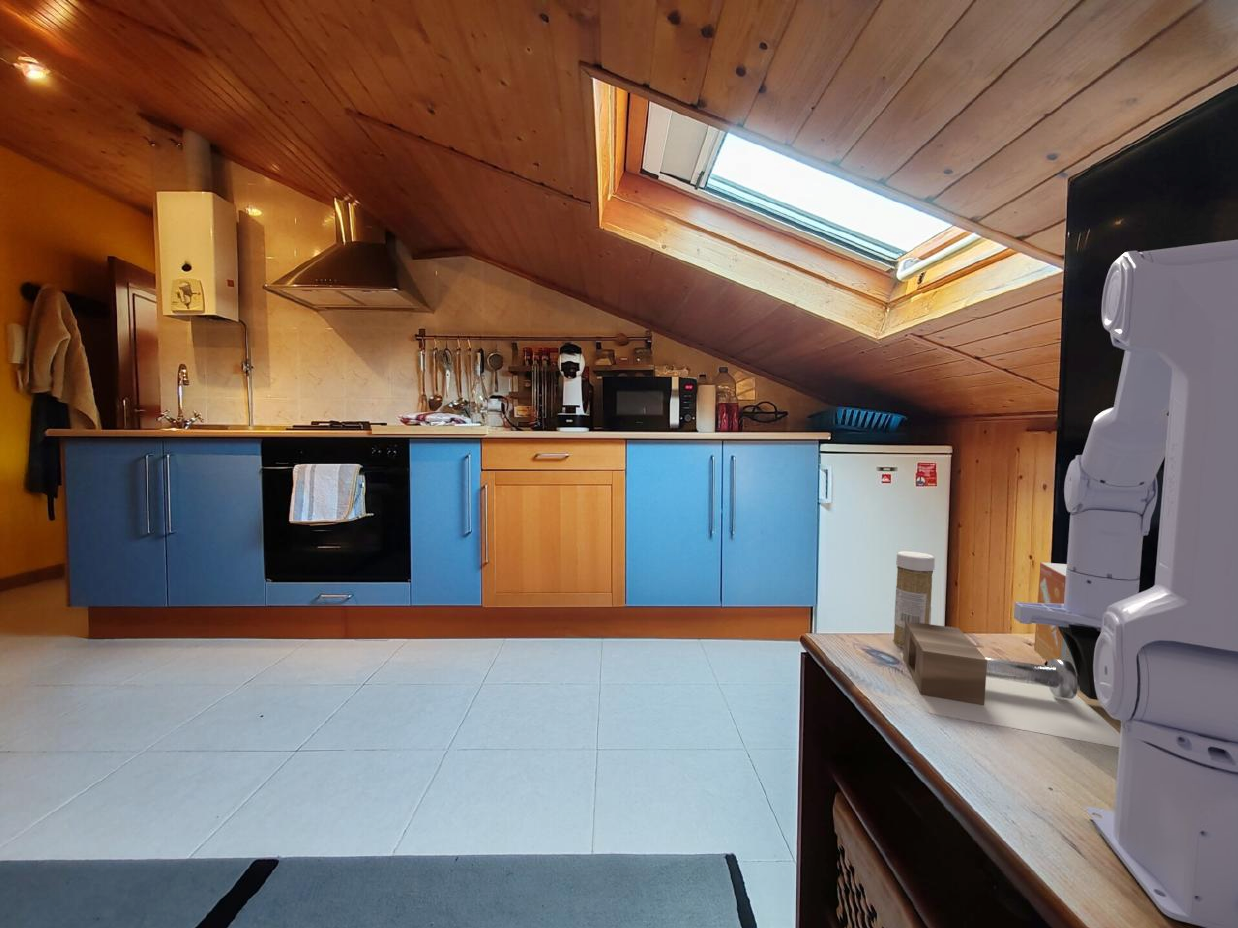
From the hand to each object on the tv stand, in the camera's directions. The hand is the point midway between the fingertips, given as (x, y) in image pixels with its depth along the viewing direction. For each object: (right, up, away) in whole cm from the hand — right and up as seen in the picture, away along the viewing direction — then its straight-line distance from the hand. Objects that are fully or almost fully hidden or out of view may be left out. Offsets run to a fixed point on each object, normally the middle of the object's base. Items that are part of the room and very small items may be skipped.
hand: (1092, 695), depth 55 cm
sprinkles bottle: (-11, -1, +16) cm, 19 cm away
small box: (+7, -2, +10) cm, 13 cm away
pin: (-8, 0, +3) cm, 8 cm away
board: (-9, -1, +2) cm, 9 cm away
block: (-14, 0, +5) cm, 14 cm away
